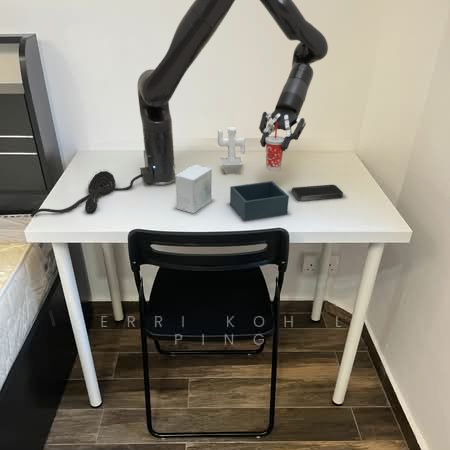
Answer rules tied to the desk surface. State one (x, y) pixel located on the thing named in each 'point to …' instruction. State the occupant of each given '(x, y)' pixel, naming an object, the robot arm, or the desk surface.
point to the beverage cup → (274, 151)
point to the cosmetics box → (193, 188)
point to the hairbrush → (97, 182)
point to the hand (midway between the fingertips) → (272, 147)
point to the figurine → (231, 151)
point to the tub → (258, 200)
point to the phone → (317, 192)
